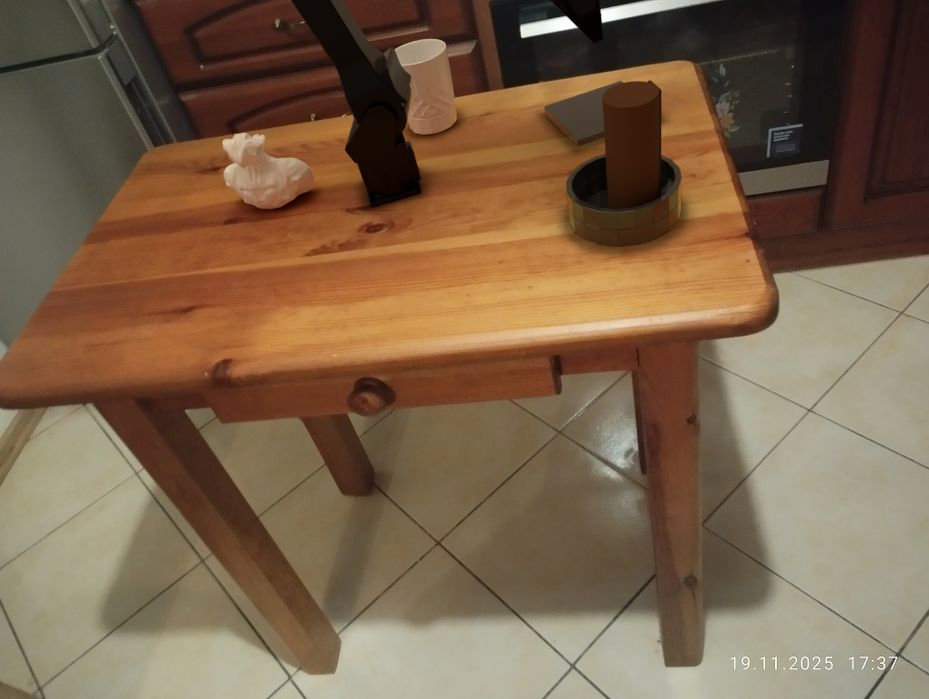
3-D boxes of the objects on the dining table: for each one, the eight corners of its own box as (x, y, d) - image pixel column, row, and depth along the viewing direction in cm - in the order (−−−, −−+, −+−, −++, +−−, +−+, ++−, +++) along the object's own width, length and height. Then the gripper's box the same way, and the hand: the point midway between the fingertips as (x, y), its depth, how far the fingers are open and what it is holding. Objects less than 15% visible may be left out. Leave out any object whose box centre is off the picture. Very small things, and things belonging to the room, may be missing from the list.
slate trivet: (577, 149, 82) (577, 140, 81) (544, 114, 90) (543, 106, 89) (661, 121, 83) (661, 112, 82) (621, 89, 91) (621, 80, 90)
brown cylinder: (619, 233, 68) (614, 112, 59) (602, 208, 71) (594, 90, 63) (669, 219, 68) (670, 95, 59) (648, 194, 72) (647, 75, 63)
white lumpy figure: (242, 219, 91) (187, 191, 80) (246, 164, 92) (191, 129, 81) (324, 213, 88) (278, 183, 77) (326, 157, 88) (281, 119, 78)
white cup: (398, 123, 97) (378, 53, 90) (448, 103, 98) (432, 33, 91) (418, 143, 91) (399, 71, 84) (470, 122, 92) (455, 49, 86)
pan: (591, 262, 66) (588, 224, 63) (556, 205, 75) (551, 169, 71) (699, 229, 67) (701, 190, 64) (652, 176, 75) (652, 139, 72)
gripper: (643, -175, 51) (690, 21, 61) (611, -206, 64) (654, -41, 74) (507, -99, 55) (573, 74, 64) (503, -144, 68) (558, 6, 78)
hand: (593, 23), depth 70 cm, fingers open, 9 cm apart
